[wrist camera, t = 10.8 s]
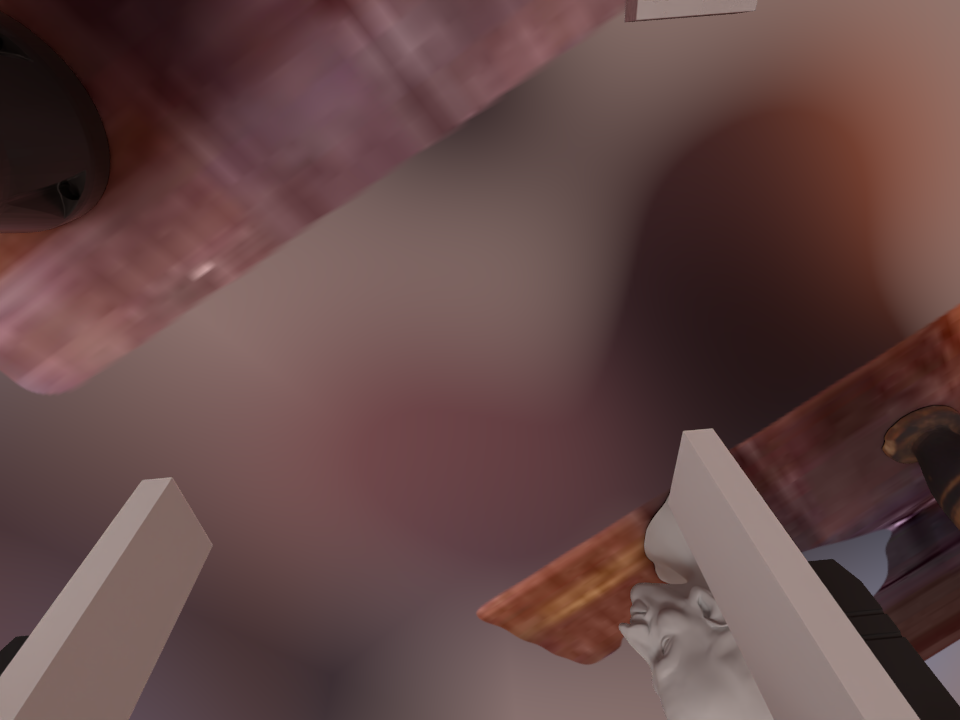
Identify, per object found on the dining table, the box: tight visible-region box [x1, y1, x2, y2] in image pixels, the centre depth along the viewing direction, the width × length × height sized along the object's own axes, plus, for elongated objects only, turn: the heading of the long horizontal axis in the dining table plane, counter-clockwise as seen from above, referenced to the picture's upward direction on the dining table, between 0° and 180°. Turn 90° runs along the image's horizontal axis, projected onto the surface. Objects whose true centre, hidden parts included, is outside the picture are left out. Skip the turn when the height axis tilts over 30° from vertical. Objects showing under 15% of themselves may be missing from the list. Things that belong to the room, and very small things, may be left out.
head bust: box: [619, 496, 774, 720], centre depth 55 cm, size 22×19×25 cm
